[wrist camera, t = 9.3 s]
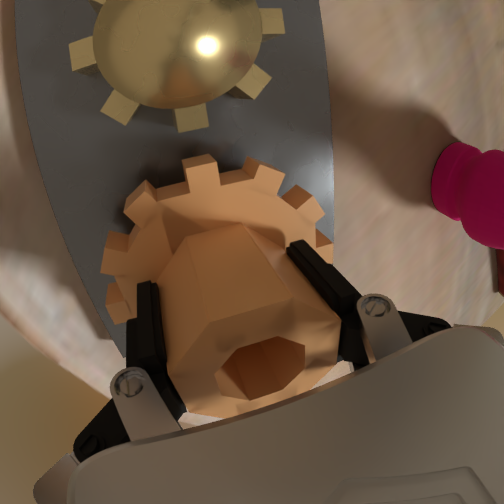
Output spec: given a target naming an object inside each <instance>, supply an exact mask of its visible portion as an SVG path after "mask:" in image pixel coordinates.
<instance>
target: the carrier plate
mask: <svg viewBox="0 0 504 504" xmlns="http://www.w3.org/2000/svg"><path fill="white" fill-rule="evenodd" d="M15 31H16V46H17V57H18V66H19V74H20V81H21V88H22V94H23V100H24V105H25V110H26V115H27V120H28V125H29V129H30V134H31V138H32V142H33V146H34V150H35V154H36V157H37V161H38V165H39V168H40V172H41V175H42V178H43V181H44V185H45V188H46V191H47V194H48V197H49V200H50V203H51V206H52V209H53V211H54V214H55V217H56V220H57V222H58V225H59V228H60V230H61V233H62V235H63V238H64V240H65V243H66V245H67V248H68V250H69V253H70V255H71V257H72V260H73V262H74V264H75V266H76V269H77V271H78V273H79V275H80V277H81V279H82V282H83V284H84V286H85V288H86V290H87V292H88V294H89V296H90V298H91V300H92V302H93V304H94V306H95V308H96V310H97V312H98V314H99V316H100V318H101V319H102V321H103V323H104V325H105V327H106V329H107V330H108V332H109V334H110V336H111V338H112V339H113V341H114V343H115V345H116V346H117V348H118V350H119V351H120V353H121V355H122V356H123V358H124V357H126V322H124V323H120V324H116V325H115V324H114V322H113V320H112V318H111V316H110V314H109V312H108V310H107V308H106V306H105V303H106V296H107V289H108V284H110V283H114V282H116V279H115V277H114V276H113V275H108V274H103V273H100V271H101V265H102V259H103V254H104V248H105V244H106V240H107V236H108V233H109V230H110V231H114V232H119V233H123V234H128V235H130V233H131V231H132V229H133V228H134V226H135V223H134V222H133V221H132V220H131V219H130V218H129V217H128V216H127V215H125V214H124V213H123V212H124V207H125V203H126V198H127V197H128V196H129V195H130V194H131V193H132V192H133V191H134V190H135V189H136V188H137V187H138V186H139V185H140V184H141V183H142V182H143V181H144V180H147V181H148V182H149V183H150V184H151V185H152V186H153V187H154V188H155V189H157V188H161V187H165V186H169V185H172V184H176V183H180V182H185V181H186V180H185V175H184V170H183V165H182V160H183V159H187V158H191V157H196V156H200V155H205V154H210V155H211V156H212V157H213V158H214V159H215V160H216V161H217V166H218V172H219V173H224V172H228V171H233V170H238V169H242V167H243V165H244V162H245V160H246V157H247V156H249V157H251V158H254V159H257V160H260V161H262V162H265V163H268V164H270V165H272V166H274V167H275V168H277V169H279V170H280V171H282V172H283V173H285V176H284V179H283V181H282V183H281V186H280V188H279V190H278V193H277V195H279V196H280V197H282V196H283V195H284V194H285V193H286V192H288V191H289V190H290V189H291V188H292V187H294V186H295V185H296V184H297V185H298V186H300V187H301V188H303V189H304V190H306V191H307V192H309V193H310V194H312V195H313V196H314V198H315V199H316V201H317V202H318V204H319V205H320V207H321V208H322V210H323V211H324V213H325V215H324V216H323V217H322V218H320V219H319V220H318V221H317V222H316V223H315V229H318V230H319V231H320V232H321V233H322V234H324V235H325V236H326V237H327V238H328V239H329V240H330V241H332V242H333V243H334V177H333V146H332V125H331V109H330V95H329V83H328V72H327V62H326V52H325V44H324V35H323V28H322V20H321V13H320V6H319V0H15ZM332 265H333V264H332Z"/></svg>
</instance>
